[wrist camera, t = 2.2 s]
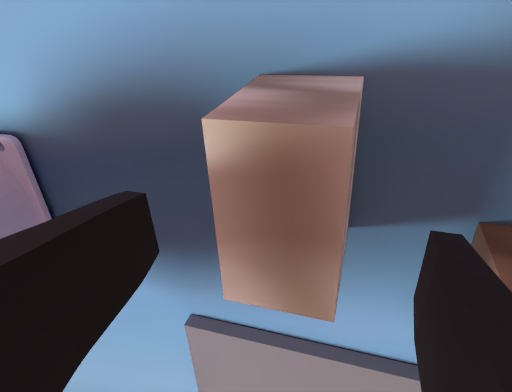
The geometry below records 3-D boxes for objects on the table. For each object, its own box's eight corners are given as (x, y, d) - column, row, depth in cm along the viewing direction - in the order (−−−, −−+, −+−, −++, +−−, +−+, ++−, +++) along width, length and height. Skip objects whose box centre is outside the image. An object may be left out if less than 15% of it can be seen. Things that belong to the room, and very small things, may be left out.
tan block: (266, 215, 16) (224, 299, 11) (261, 73, 13) (201, 118, 8) (348, 226, 15) (334, 322, 10) (364, 75, 12) (353, 127, 7)
